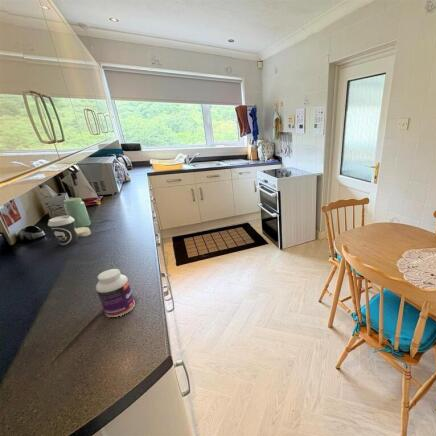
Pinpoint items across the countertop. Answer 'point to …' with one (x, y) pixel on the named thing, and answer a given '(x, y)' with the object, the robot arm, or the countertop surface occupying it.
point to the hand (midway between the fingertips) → (59, 186)
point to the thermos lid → (83, 231)
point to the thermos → (77, 212)
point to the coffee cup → (64, 230)
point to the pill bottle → (114, 293)
